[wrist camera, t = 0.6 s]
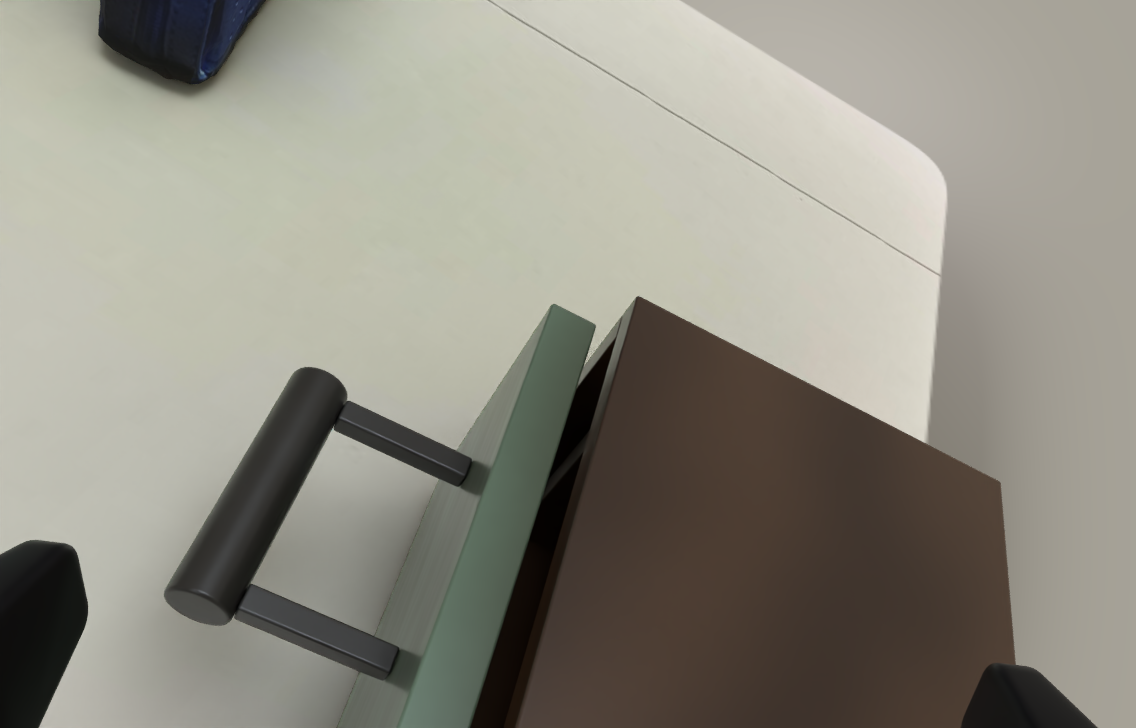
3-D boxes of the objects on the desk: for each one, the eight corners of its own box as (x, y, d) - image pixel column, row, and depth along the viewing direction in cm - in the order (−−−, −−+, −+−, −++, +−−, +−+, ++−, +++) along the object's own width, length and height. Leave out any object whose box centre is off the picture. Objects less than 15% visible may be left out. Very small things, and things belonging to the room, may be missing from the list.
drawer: (75, 796, 21) (89, 667, 14) (296, 408, 28) (371, 210, 22) (644, 1013, 23) (878, 985, 17) (709, 599, 31) (887, 470, 24)
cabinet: (327, 932, 22) (481, 850, 14) (486, 495, 30) (637, 294, 23) (722, 1080, 24) (1051, 1078, 16) (770, 626, 32) (1001, 481, 24)
